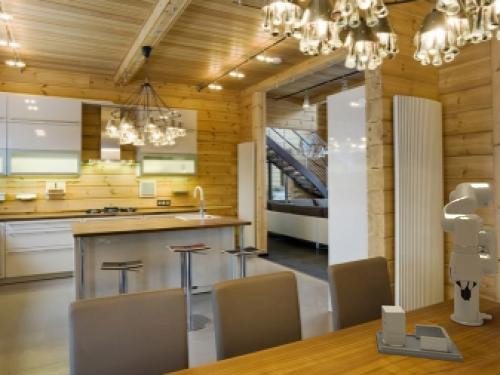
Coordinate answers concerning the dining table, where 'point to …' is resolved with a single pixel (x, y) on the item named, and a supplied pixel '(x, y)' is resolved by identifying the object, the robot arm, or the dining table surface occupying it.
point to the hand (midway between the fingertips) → (465, 299)
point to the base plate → (416, 349)
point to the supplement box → (393, 325)
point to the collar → (433, 338)
